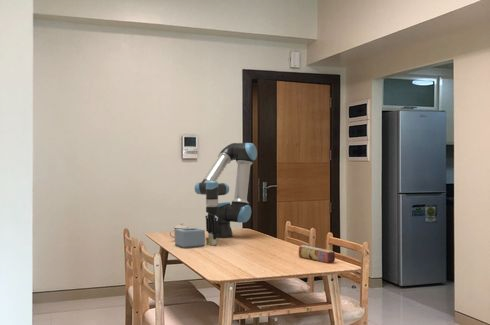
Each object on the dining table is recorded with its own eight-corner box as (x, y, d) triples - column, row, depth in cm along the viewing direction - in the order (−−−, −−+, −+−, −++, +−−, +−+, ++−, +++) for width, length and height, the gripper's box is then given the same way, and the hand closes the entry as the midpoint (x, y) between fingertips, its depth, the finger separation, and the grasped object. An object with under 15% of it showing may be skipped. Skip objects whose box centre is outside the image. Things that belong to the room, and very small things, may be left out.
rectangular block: (214, 244, 319) (214, 236, 319) (217, 244, 316) (217, 237, 316) (206, 244, 316) (206, 237, 316) (208, 245, 313) (208, 238, 313)
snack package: (336, 262, 264) (336, 249, 264) (327, 264, 260) (327, 250, 260) (305, 256, 280) (306, 244, 280) (297, 257, 276) (297, 245, 276)
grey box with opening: (195, 243, 319) (195, 227, 319) (204, 246, 309) (204, 229, 309) (175, 245, 312) (175, 229, 312) (183, 248, 302) (183, 231, 301)
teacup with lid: (187, 239, 334) (187, 222, 334) (189, 242, 325) (189, 223, 325) (168, 240, 331) (169, 222, 331) (170, 242, 322) (170, 224, 322)
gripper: (200, 205, 321) (200, 242, 321) (213, 207, 307) (213, 246, 307) (211, 204, 325) (211, 241, 325) (224, 206, 311) (224, 245, 311)
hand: (212, 243), depth 316 cm, fingers open, 4 cm apart
